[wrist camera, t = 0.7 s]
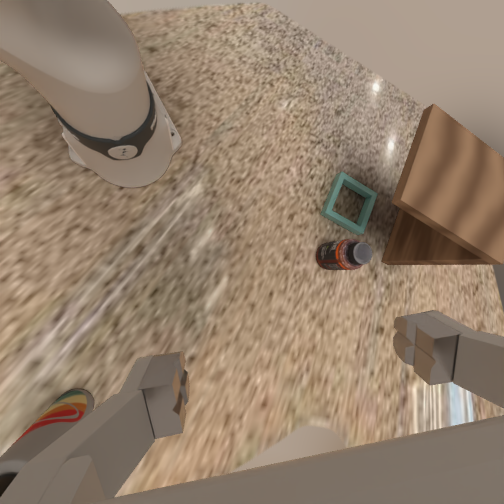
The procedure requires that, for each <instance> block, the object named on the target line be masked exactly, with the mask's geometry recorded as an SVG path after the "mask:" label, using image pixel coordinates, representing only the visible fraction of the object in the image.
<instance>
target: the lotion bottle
mask: <svg viewBox="0 0 504 504" xmlns="http://www.w3.org/2000/svg"><path fill="white" fill-rule="evenodd" d="M93 407H94V400H93V397H92V395H91V394H90V393H89V392H87V391H85V390H82V389H74V390H70V391H68V392H66V393H64V394H63V395H62V396H60V397H59V398H58V399H57V400H56V401H55V402H54V403H53V404H52V405H51V406H50V407H49V408H48V409H47V410H46V411H45V412H44V413H43V414H42V415H41V416H40V417H39V418H38V419H37V420H36V421H35V422H34V423H33V424H32V425H31V426H30V428H29V429H28V430H27V431H26V432H25V433H24V434H23V435H22V436H21V437H20V438H19V439H18V440H17V441H16V442H15V443H14V444H13V445H12V446H11V447H10V448H9V449H8V450H7V451H6V452H5V453H4V454H3V455H2V456H1V457H0V497H1V496H2V494H3V493H4V492H5V490H6V489H7V488H8V486H9V485H10V484H11V482H12V481H13V480H14V478H15V477H16V476H17V474H18V473H19V471H20V470H21V469H22V467H23V466H24V465H25V464H26V463H28V462H29V461H30V460H32V459H33V458H34V457H35V456H37V455H38V454H39V453H40V452H42V451H43V450H44V449H45V448H47V447H48V446H49V445H51V444H52V443H53V442H54V441H56V440H57V439H58V438H59V437H61V436H62V435H63V434H64V433H66V432H67V431H68V430H70V429H71V428H72V427H73V426H75V425H76V424H77V423H78V422H80V421H81V420H82V419H83V418H85V417H86V416H87V415H89V414H90V413H91V412H92V410H93Z"/></svg>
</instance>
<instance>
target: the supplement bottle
mask: <svg viewBox="0 0 504 504" xmlns="http://www.w3.org/2000/svg"><path fill="white" fill-rule="evenodd" d="M316 258H317V261H318V263H319V265H320V266H321V267H322V268H324V269H327V270H355V269H358V268H360V267H361V266H362V265H363V264H367V263H368V262H369V261H370V260H371V258H372V250H371V247H370V246H369V245H368V244H367V243H364V242H360V241H358V240H356V239H346V240H340V241H335V242H329V243H325V244H323V245H321V246H320V247H319V248H318V250H317V254H316Z"/></svg>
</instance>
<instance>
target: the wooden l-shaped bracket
mask: <svg viewBox="0 0 504 504" xmlns="http://www.w3.org/2000/svg"><path fill="white" fill-rule="evenodd" d="M392 203H393V204H394V205H396V206H398V207H399V208H400V209H399V212H398V215H397V218H396V221H395V223H394V226H393V229H392V232H391V235H390V238H389V241H388V244H387V247H386V250H385V253H384V256H383V258H382V262H383V263H385V264H387V265H477V264H503V262H504V158H503V157H502V156H501V155H500V154H498V153H497V152H495V151H494V150H493V149H492V148H491V147H489V146H488V145H487V144H485V143H484V142H483V141H481V140H480V139H479V138H478V137H476V136H475V135H474V134H473V133H471V132H470V131H469V130H467V129H466V128H465V127H463V126H462V125H461V124H460V123H458V122H457V121H456V120H454V119H453V118H452V117H451V116H449V115H448V114H447V113H446V112H444V111H443V110H441V109H440V108H439V107H438V106H437V105H435V104H432V105H431V106H429V107H428V108H426V109H425V110H424V111H423V114H422V117H421V120H420V123H419V126H418V128H417V131H416V134H415V137H414V140H413V143H412V146H411V148H410V151H409V154H408V157H407V160H406V163H405V166H404V168H403V171H402V174H401V177H400V180H399V183H398V186H397V188H396V191H395V194H394V197H393V200H392Z"/></svg>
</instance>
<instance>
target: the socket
mask: <svg viewBox="0 0 504 504" xmlns="http://www.w3.org/2000/svg"><path fill="white" fill-rule="evenodd" d="M342 184H343V185H345V186H347V187H348V188H350V189H352V190H353V191H355V192H356V193H358V194H360V195H361V196H363V197H365V198H366V199H365V202H364V204H363V207H362V210H361V213H360V215H359V218H358V221H357V223H356V224H355V223H353V222H352V221H350V220H348V219H346V218H345V217H343V216H341V215H339V214H338V213H336V212H334V211H332V208H333V206H334V203H335V201H336V198H337V196H338V193H339V191H340V188H341V186H342ZM377 195H378V194H377V193H376V192H374V191H373V190H371V189H369V188H368V187H366V186H365V185H363V184H361V183H360V182H358V181H356V180H355V179H353V178H352V177H350V176H348V175H347V174H345V173H344V172H340V173H338V174H337V175H336V177H335V179H334V182H333V184H332V187H331V189H330V192H329V194H328V197H327V199H326V202H325V204H324V207H323V209H322V212H321V214H320V215H322V216H324V217H326V218H328V219H329V220H331V221H333V222H335V223H336V224H338V225H340V226H342V227H344V228H345V229H347V230H349V231H351V232H353V233H354V234H356V235H360V234H363V233H364V230H365V228H366V225H367V222H368V219H369V217H370V214H371V211H372V208H373V206H374V203H375V200H376V197H377Z"/></svg>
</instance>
